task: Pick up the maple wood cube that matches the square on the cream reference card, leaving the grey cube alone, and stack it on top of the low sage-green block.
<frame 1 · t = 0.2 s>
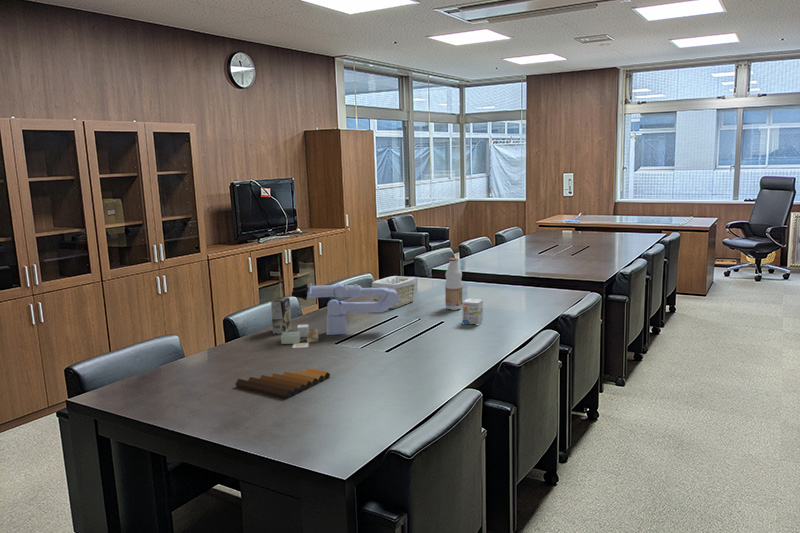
hand: (292, 292, 295), 21 cm above the table, tool horizontal, fingers open, 7 cm apart
reference card: (300, 345, 281), on the table
maple cube: (312, 340, 288), on the table
fruit juice: (454, 308, 343), on the table
grey cube: (303, 336, 296), on the table
storage basket: (394, 304, 356), on the table
coffee box: (282, 331, 305), on the table
base block: (291, 341, 287), on the table, touching reference card
ink box: (472, 323, 312), on the table
pan flute: (283, 384, 234), on the table
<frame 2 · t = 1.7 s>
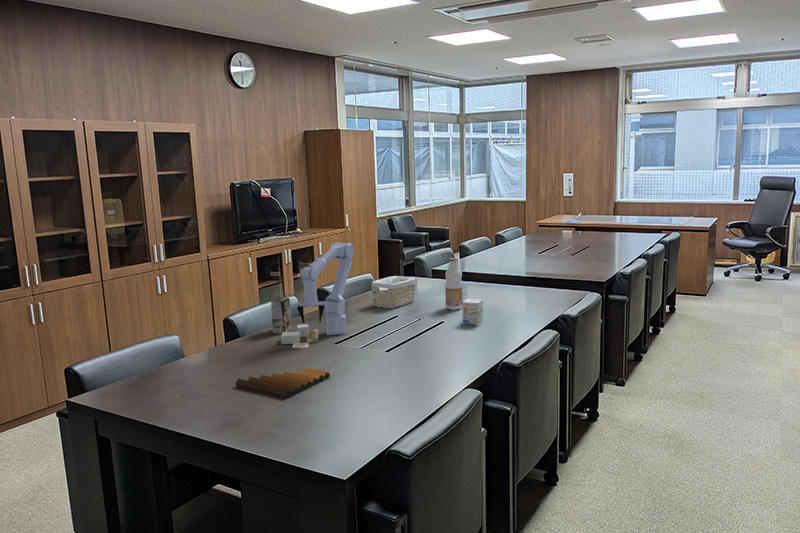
hand: (311, 321, 286), 9 cm above the table, tool pointing down, fingers open, 7 cm apart
nothing on the table moved.
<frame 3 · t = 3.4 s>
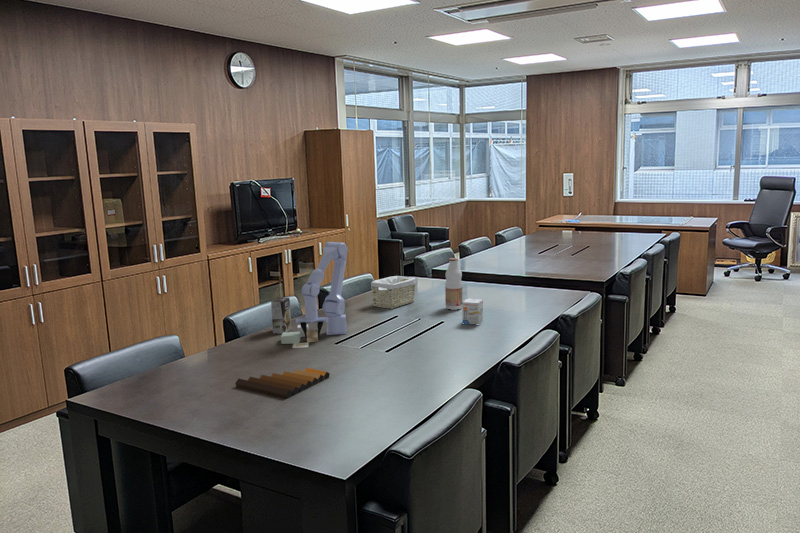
hand: (312, 337, 288), 1 cm above the table, tool pointing down, fingers closed on maple cube, 5 cm apart
maple cube: (312, 340, 288), on the table, touching gripper
everything else where it was.
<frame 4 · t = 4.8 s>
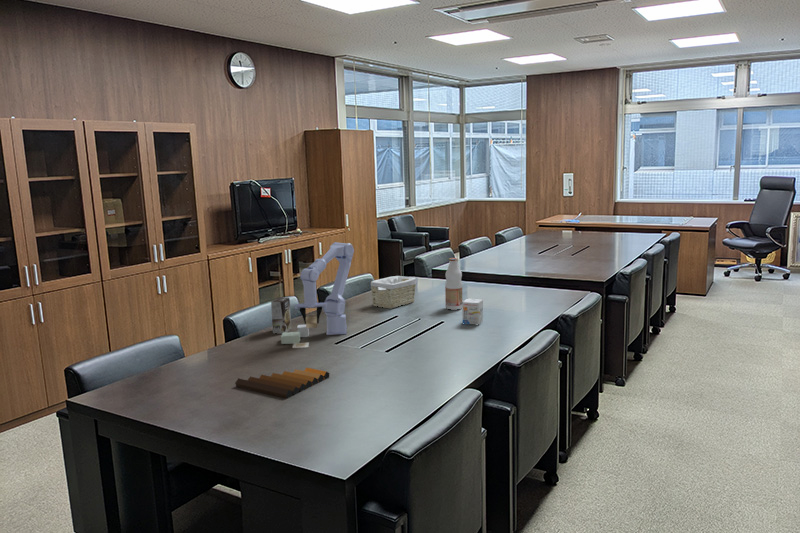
hand: (311, 323, 286), 8 cm above the table, tool pointing down, fingers closed on maple cube, 5 cm apart
maple cube: (311, 326, 287), point 7 cm above the table, touching gripper
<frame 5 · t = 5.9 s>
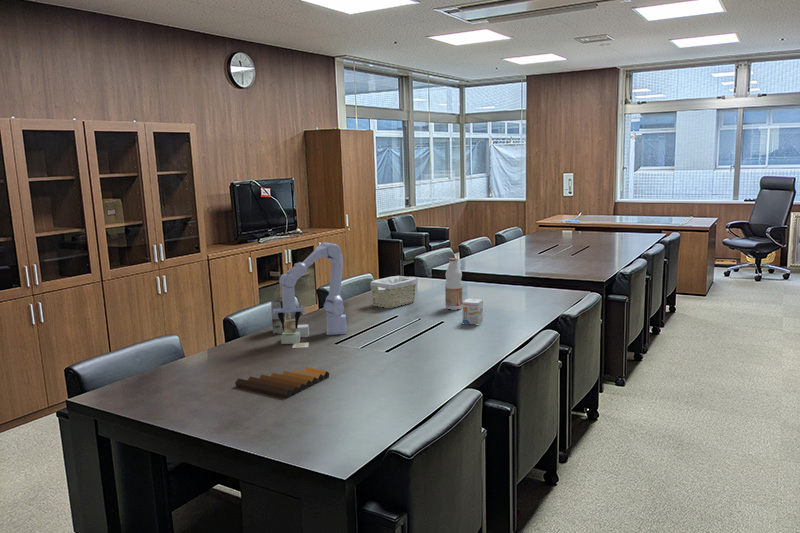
hand: (290, 328, 286), 6 cm above the table, tool pointing down, fingers closed on maple cube, 5 cm apart
maple cube: (290, 331, 286), point 5 cm above the table, touching gripper
when the fingers open (6 cm above the table, at t = 6.7 s): maple cube drops 1 cm, resting on base block.
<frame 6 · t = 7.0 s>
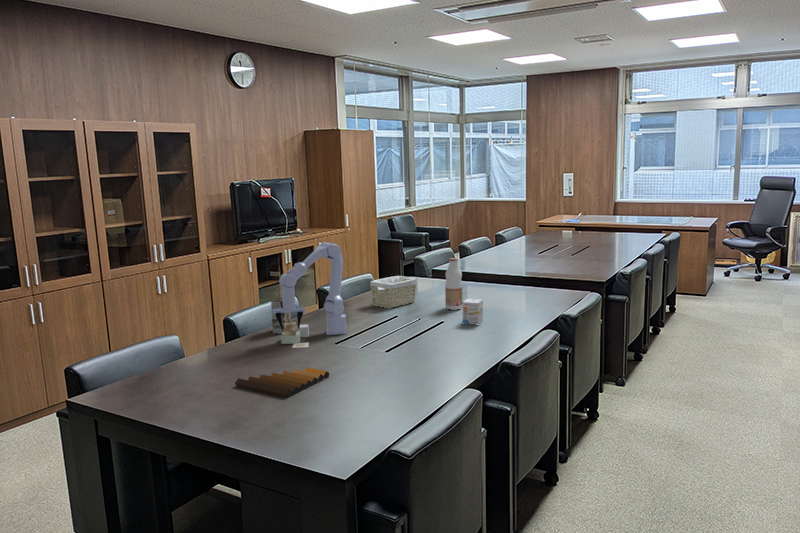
hand: (290, 328, 286), 6 cm above the table, tool pointing down, fingers open, 7 cm apart
maple cube: (290, 334, 286), point 4 cm above the table, touching base block
base block: (291, 341, 287), on the table, touching maple cube, reference card
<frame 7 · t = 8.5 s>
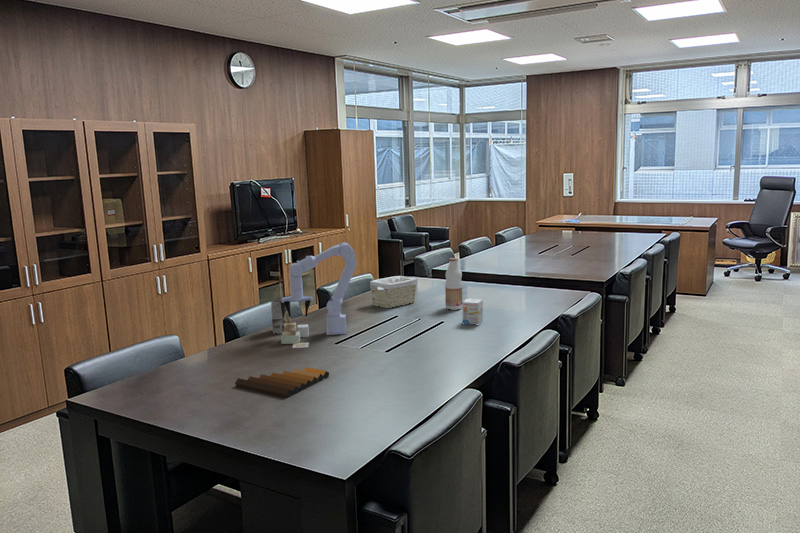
hand: (298, 316, 296), 9 cm above the table, tool pointing down, fingers open, 7 cm apart
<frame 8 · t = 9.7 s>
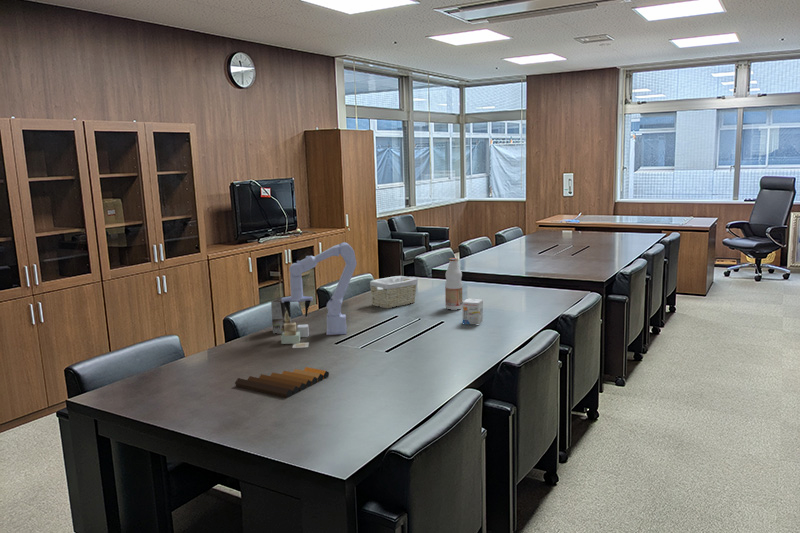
hand: (298, 316, 296), 9 cm above the table, tool pointing down, fingers open, 7 cm apart
at the end: maple cube 0.0 cm off-centre on the base block, point 3.5 cm above the base block's base; maple cube tilted 3°; the gripper is holding nothing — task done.
